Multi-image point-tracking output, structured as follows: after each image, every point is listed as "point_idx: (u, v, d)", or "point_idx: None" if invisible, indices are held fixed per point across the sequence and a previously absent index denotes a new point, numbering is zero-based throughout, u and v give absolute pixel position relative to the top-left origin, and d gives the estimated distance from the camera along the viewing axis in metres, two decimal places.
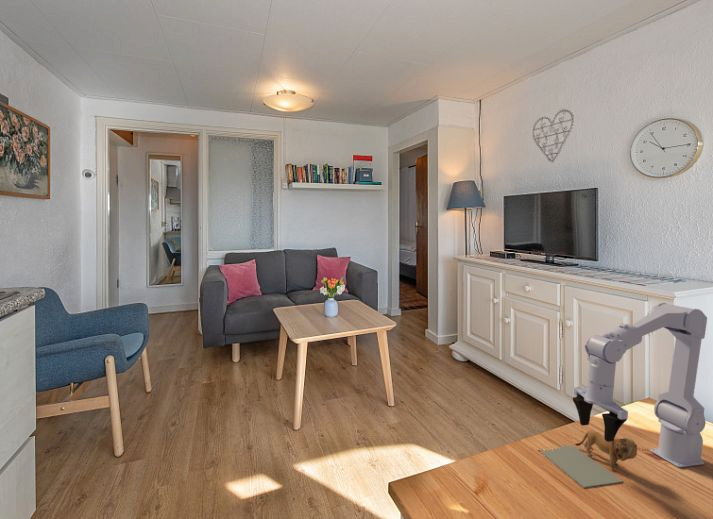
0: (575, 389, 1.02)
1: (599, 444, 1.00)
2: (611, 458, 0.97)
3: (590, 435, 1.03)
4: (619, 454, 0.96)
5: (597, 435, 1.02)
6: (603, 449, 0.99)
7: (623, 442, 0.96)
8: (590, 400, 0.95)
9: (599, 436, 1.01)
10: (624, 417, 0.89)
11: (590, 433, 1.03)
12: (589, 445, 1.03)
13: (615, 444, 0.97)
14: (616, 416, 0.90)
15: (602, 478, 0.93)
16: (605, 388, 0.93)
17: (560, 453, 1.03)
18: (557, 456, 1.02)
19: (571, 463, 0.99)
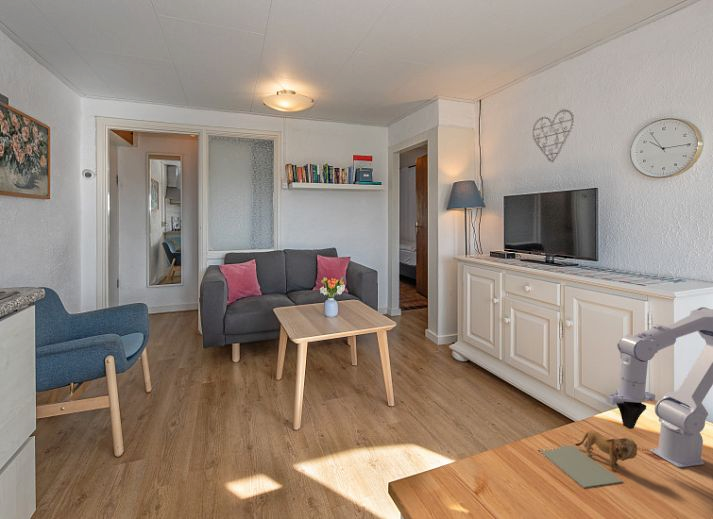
0: None
1: (599, 444, 1.01)
2: (611, 458, 0.97)
3: (590, 434, 1.03)
4: (619, 454, 0.96)
5: (597, 435, 1.02)
6: (603, 449, 0.99)
7: (623, 442, 0.96)
8: (618, 390, 1.04)
9: (599, 436, 1.01)
10: (610, 401, 0.99)
11: (590, 433, 1.03)
12: (589, 445, 1.03)
13: (615, 443, 0.97)
14: None
15: (602, 478, 0.93)
16: (621, 379, 1.01)
17: (560, 453, 1.03)
18: (557, 456, 1.02)
19: (571, 463, 0.99)
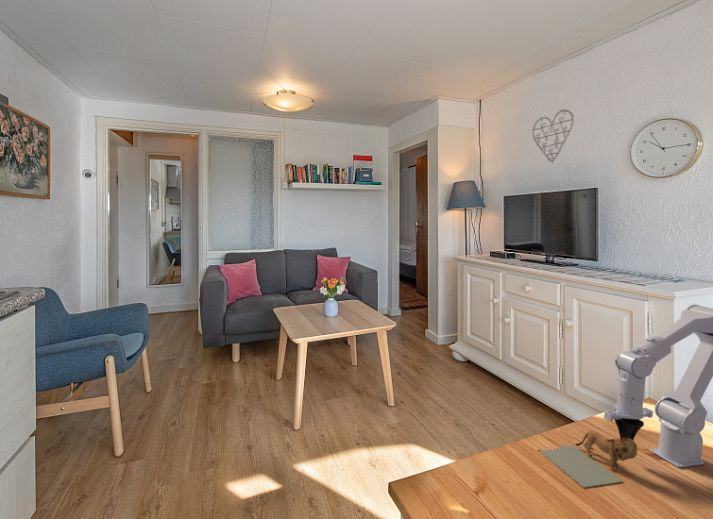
0: None
1: (599, 444, 1.01)
2: (611, 458, 0.97)
3: (590, 434, 1.03)
4: (619, 454, 0.96)
5: (597, 435, 1.02)
6: (603, 449, 0.99)
7: (623, 442, 0.96)
8: (616, 405, 1.04)
9: (599, 436, 1.01)
10: (608, 418, 1.00)
11: (590, 433, 1.03)
12: (589, 445, 1.03)
13: (615, 443, 0.97)
14: None
15: (602, 478, 0.93)
16: (618, 396, 1.02)
17: (560, 453, 1.03)
18: (557, 456, 1.02)
19: (571, 463, 0.99)
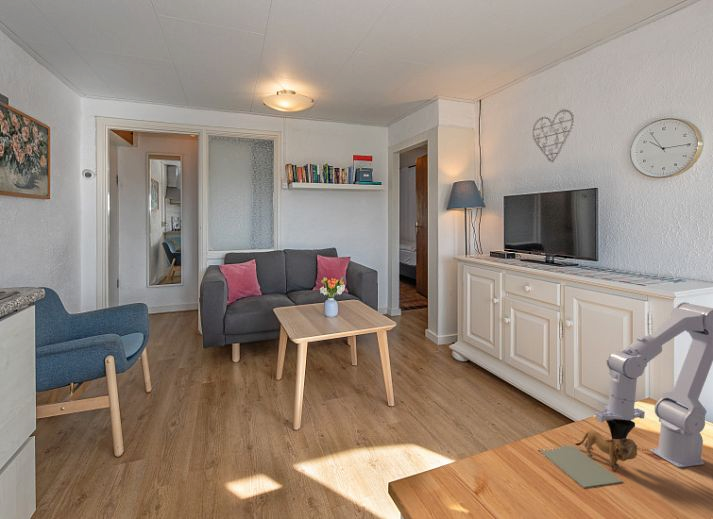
0: None
1: (599, 444, 1.00)
2: (611, 458, 0.97)
3: (590, 435, 1.03)
4: (619, 454, 0.95)
5: (597, 435, 1.02)
6: (603, 449, 0.99)
7: (623, 442, 0.96)
8: (607, 406, 1.04)
9: (599, 436, 1.01)
10: (599, 419, 0.99)
11: (590, 433, 1.03)
12: (589, 445, 1.03)
13: (615, 444, 0.97)
14: None
15: (602, 478, 0.93)
16: (610, 396, 1.01)
17: (560, 453, 1.03)
18: (557, 456, 1.02)
19: (571, 463, 0.99)
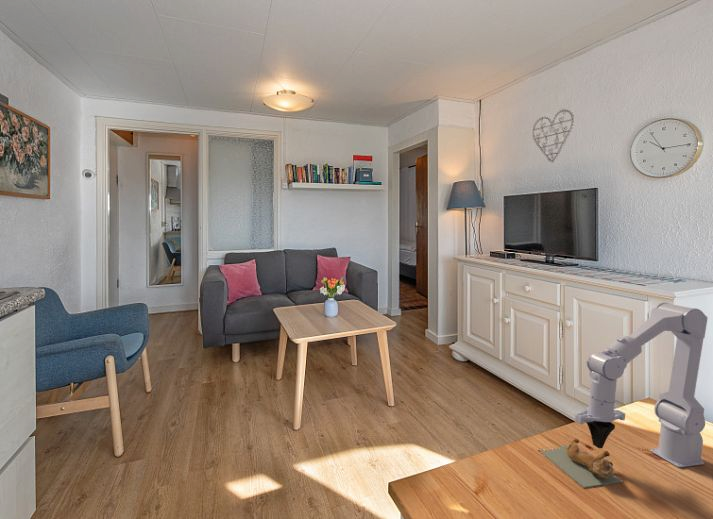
0: None
1: None
2: None
3: None
4: None
5: (576, 461, 0.99)
6: None
7: (598, 476, 0.92)
8: (588, 408, 1.02)
9: (578, 461, 0.98)
10: (578, 421, 0.97)
11: (571, 458, 1.00)
12: None
13: None
14: None
15: (602, 478, 0.93)
16: (590, 398, 0.99)
17: (560, 453, 1.03)
18: (557, 456, 1.02)
19: (571, 463, 0.99)
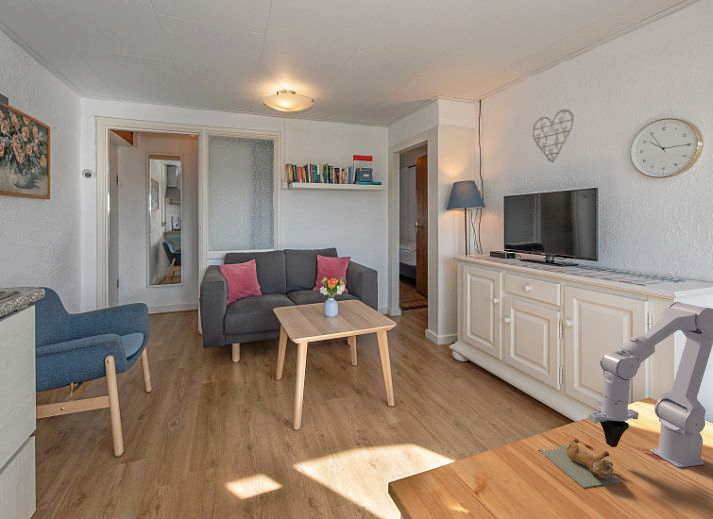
0: None
1: None
2: None
3: None
4: None
5: (576, 461, 0.99)
6: None
7: (598, 476, 0.92)
8: (601, 407, 1.03)
9: (578, 461, 0.98)
10: (592, 420, 0.99)
11: (570, 458, 1.00)
12: None
13: None
14: None
15: (602, 478, 0.93)
16: (603, 397, 1.00)
17: (560, 453, 1.03)
18: (557, 456, 1.02)
19: (571, 463, 0.99)
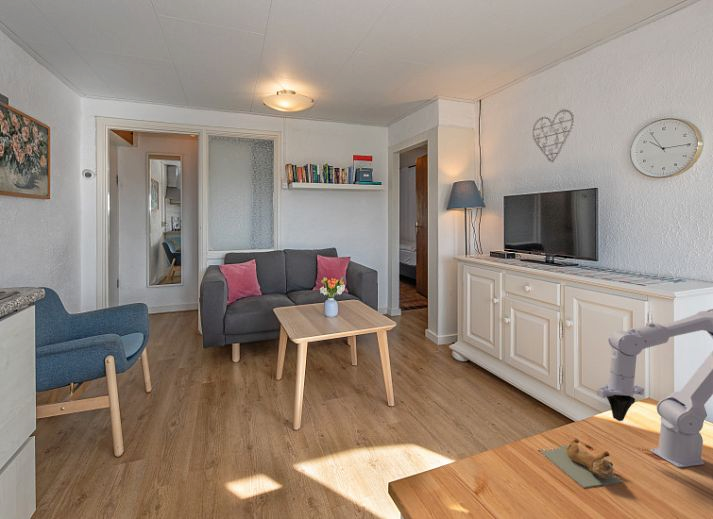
0: None
1: None
2: None
3: None
4: None
5: (576, 461, 0.99)
6: None
7: (598, 476, 0.92)
8: (608, 383, 1.08)
9: (578, 461, 0.98)
10: (600, 394, 1.03)
11: (570, 458, 1.00)
12: None
13: None
14: None
15: (602, 478, 0.93)
16: (611, 374, 1.05)
17: (560, 453, 1.03)
18: (557, 456, 1.02)
19: (571, 463, 0.99)
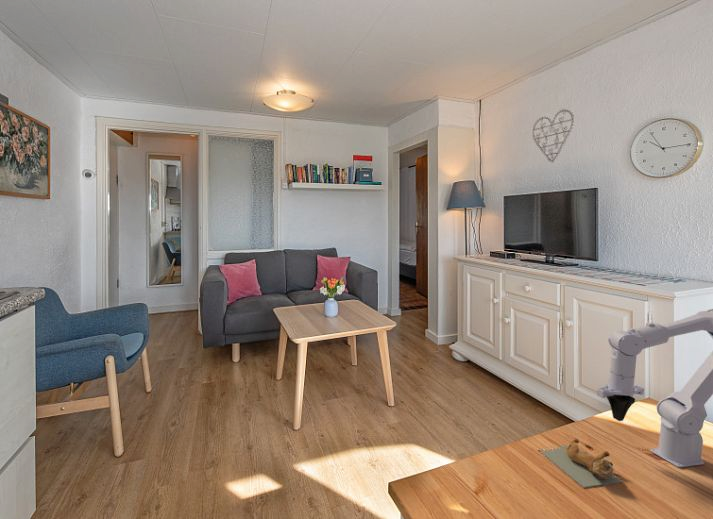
0: None
1: None
2: None
3: None
4: None
5: (576, 461, 0.99)
6: None
7: (598, 476, 0.92)
8: (608, 383, 1.08)
9: (578, 461, 0.98)
10: (600, 394, 1.03)
11: (570, 458, 1.00)
12: None
13: None
14: None
15: (602, 478, 0.93)
16: (611, 374, 1.05)
17: (560, 453, 1.03)
18: (557, 456, 1.02)
19: (571, 463, 0.99)
